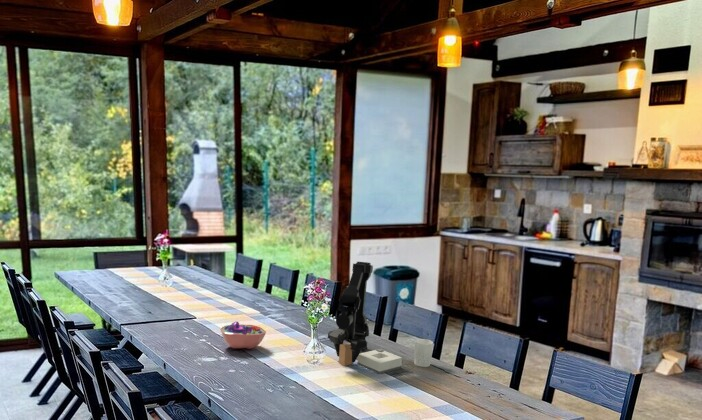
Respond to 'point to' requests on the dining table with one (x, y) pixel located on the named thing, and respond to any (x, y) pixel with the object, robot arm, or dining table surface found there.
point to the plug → (345, 354)
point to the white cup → (422, 352)
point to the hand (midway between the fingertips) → (345, 359)
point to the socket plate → (379, 361)
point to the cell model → (242, 335)
